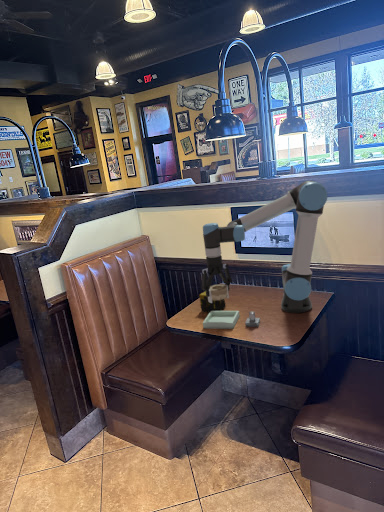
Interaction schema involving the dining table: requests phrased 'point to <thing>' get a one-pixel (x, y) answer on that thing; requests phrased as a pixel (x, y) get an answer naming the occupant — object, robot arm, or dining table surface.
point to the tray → (221, 320)
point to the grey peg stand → (252, 320)
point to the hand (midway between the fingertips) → (218, 299)
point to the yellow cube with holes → (211, 304)
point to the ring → (219, 292)
